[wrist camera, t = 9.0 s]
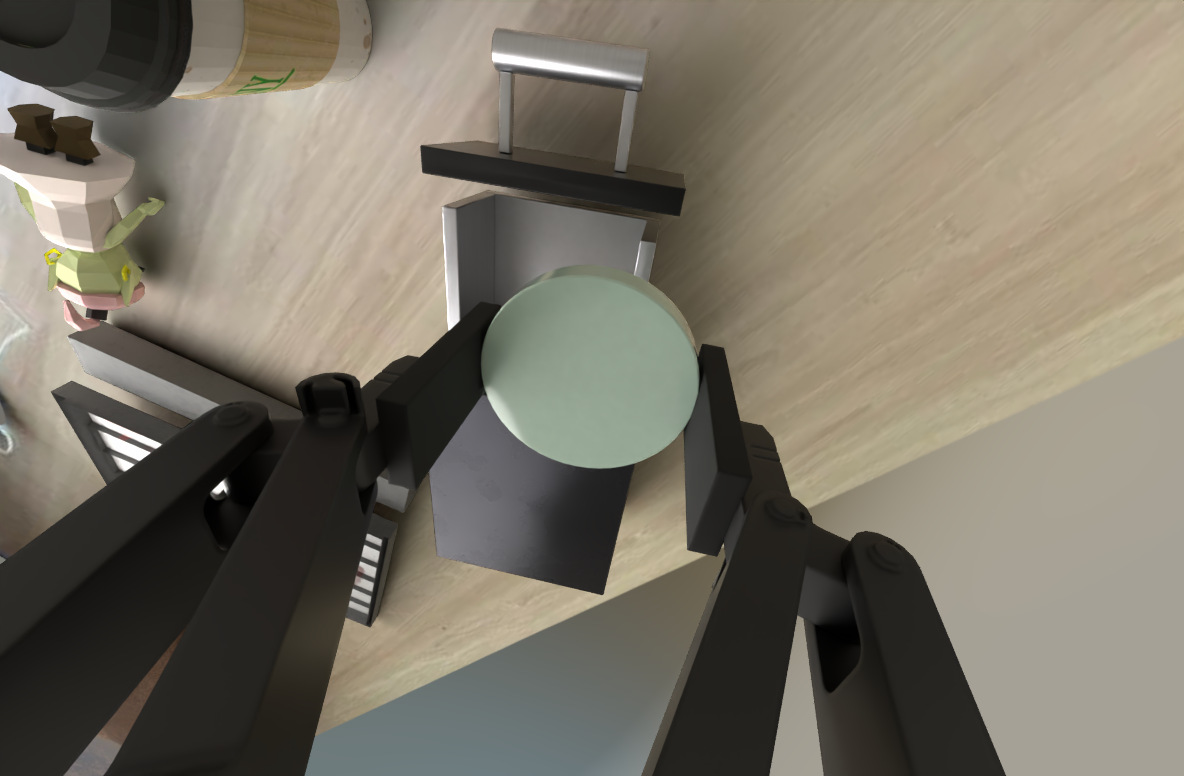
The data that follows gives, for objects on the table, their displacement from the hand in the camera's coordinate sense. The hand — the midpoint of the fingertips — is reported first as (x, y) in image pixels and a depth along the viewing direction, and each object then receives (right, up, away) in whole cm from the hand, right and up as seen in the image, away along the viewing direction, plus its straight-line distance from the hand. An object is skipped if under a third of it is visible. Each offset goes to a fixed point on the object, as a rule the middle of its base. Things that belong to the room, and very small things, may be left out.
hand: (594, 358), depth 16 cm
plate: (0, 0, 0) cm, 0 cm away
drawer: (-2, +8, +13) cm, 15 cm away
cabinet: (-3, -5, +22) cm, 23 cm away
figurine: (-37, +13, +18) cm, 43 cm away
